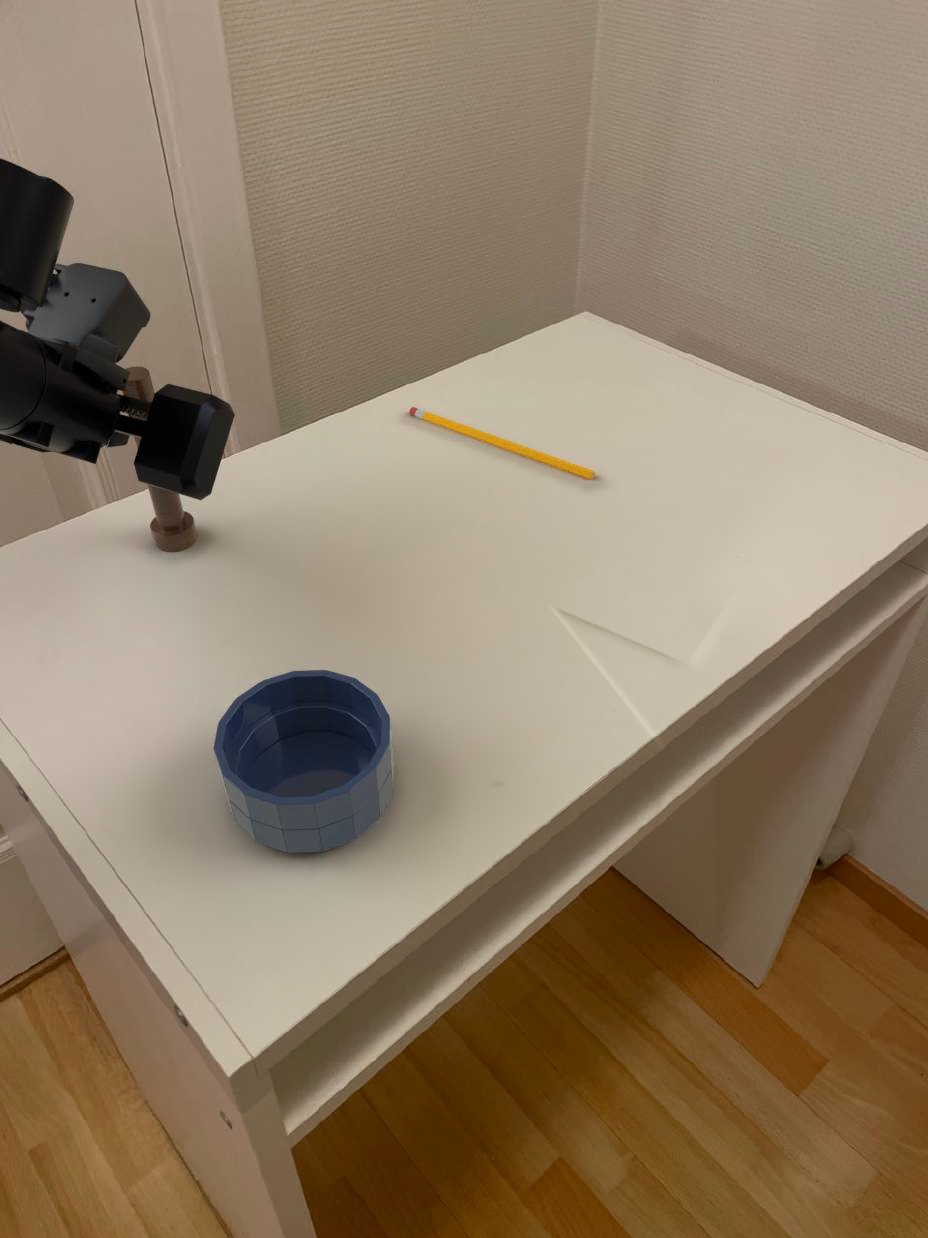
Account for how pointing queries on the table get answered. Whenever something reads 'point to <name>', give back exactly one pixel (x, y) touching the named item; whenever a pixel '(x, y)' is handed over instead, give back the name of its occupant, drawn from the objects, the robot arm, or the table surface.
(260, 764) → the bowl
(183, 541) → the muddler
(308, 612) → the table surface
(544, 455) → the pencil
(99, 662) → the table surface
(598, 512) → the table surface
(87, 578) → the table surface
